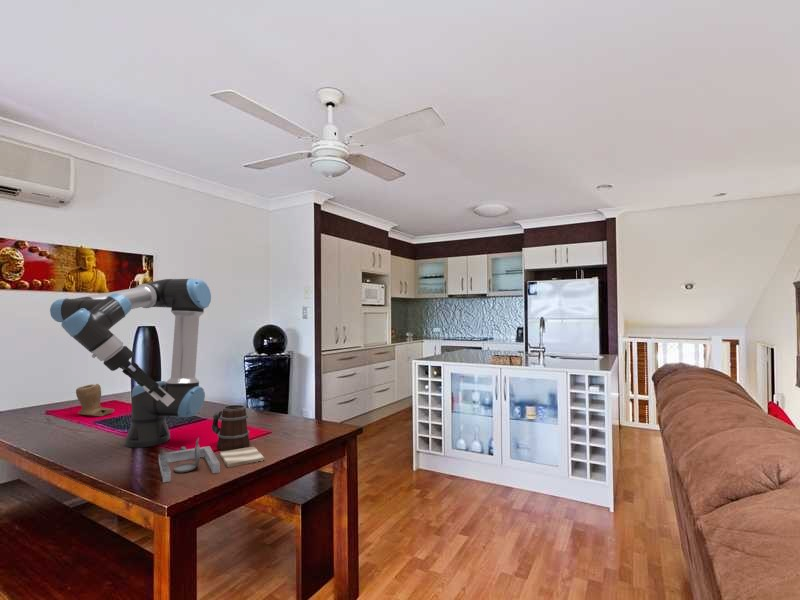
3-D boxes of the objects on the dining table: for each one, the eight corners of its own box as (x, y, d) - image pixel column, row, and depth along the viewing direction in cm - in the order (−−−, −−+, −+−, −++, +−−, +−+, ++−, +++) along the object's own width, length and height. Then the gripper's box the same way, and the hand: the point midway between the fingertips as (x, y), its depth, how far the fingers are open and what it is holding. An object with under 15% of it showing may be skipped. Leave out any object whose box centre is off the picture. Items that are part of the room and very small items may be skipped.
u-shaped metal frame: (157, 457, 150) (157, 448, 150) (206, 449, 159) (206, 441, 159) (163, 482, 128) (163, 472, 128) (219, 472, 137) (219, 462, 137)
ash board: (219, 455, 153) (219, 451, 153) (253, 449, 159) (254, 446, 159) (227, 467, 141) (227, 463, 141) (264, 460, 148) (264, 457, 148)
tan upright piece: (69, 416, 206) (70, 385, 206) (95, 411, 217) (96, 381, 217) (89, 419, 200) (90, 387, 200) (114, 414, 210) (115, 383, 211)
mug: (255, 442, 168) (256, 404, 168) (236, 452, 156) (236, 411, 156) (222, 439, 172) (222, 402, 172) (200, 448, 160) (201, 408, 161)
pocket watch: (169, 471, 138) (169, 440, 138) (192, 463, 145) (193, 433, 145) (185, 476, 134) (186, 444, 134) (208, 467, 141) (209, 437, 141)
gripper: (96, 360, 135) (147, 404, 143) (107, 365, 116) (165, 415, 125) (118, 343, 139) (165, 387, 147) (132, 345, 120) (186, 395, 129)
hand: (165, 400), depth 136 cm, fingers open, 13 cm apart
